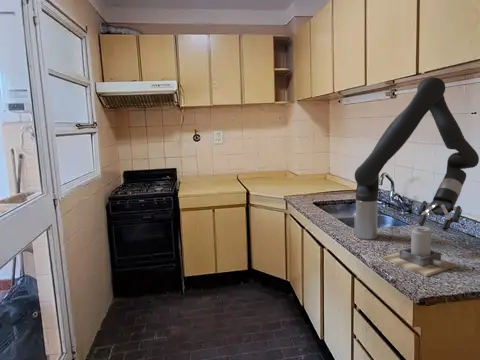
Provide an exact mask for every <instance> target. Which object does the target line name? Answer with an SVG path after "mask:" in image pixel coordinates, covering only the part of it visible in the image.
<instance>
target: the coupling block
mask: <svg viewBox="0 0 480 360" xmlns="http://www.w3.org/2000/svg"><path fill="white" fill-rule="evenodd" d="M382 260H384V261H386V262H390V263H392V264H395V265H396V266H399V267H402V268H404V269H407V270H409V271H411V272H414V273H416V274H419V275H422V276H424V277H429V276H432V275H434V274H438V273H441V272H444V271H447V270H450V269H453V268H455V267H456V264H455V263H453V262H450V261H447V260H444V259H442V253H441V252H438V251H435V250H432V249H431V255H428V256H425V257H420V256H417V255H414V254H411V247H409V248H403V247H398V248H397V252H395V253H392V254H388V255H385V256H383V259H382Z"/></svg>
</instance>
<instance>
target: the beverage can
mask: <svg viewBox="0 0 480 360" xmlns="http://www.w3.org/2000/svg"><path fill="white" fill-rule="evenodd" d="M410 237H411V239H410V240H411V241H410V244H411V245H410V246H411V247H410V248H411V254H414V255H417V256H420V257H425V256H428V255H431V250H432V231H431V228H429V227H428V226H420V225H418V226H413V227H412V230H411V236H410Z"/></svg>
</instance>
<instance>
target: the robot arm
mask: <svg viewBox="0 0 480 360" xmlns="http://www.w3.org/2000/svg"><path fill="white" fill-rule="evenodd" d="M445 92H446V84H445V82H444V80H442V79H441V78H439V77H433V76H431V77H427V78H424V79H422V80H421V81H420V82H419V83H418V86H417V90H416V92H415V95H414V96H413V97H412V99H411V101H410V102H409V104H408V105H407V106H406V108H405V109H403V110H402V111H401V112H400V114H398V115H397V117H395V118H394V119H393V121H392V122H391V123H390V124H389V126H387V128H386V129H385V131H384V132H383V134H382V136H380V138H379V139H378V142H377V143H376V145H375V147H374V148H373V150H372V152H371V153H370V154H369V156H367V158H366V159H365V160H364V161H363V162H362V163H361V164H360V165H359V166H358V167H357V168H356V170H355V173H354V180H355V182H356V183H357V184H356V186H357V187H356V191H355V214H354V216H353V218H354V221H353V222H354V223H353V224H354V225H353V226H354V231H353V232H354V236H355V237H356V238H357V239H361V240H375V239H377V238H378V221H379V220H378V213H379V212H378V208H379V207H378V206H379V205H378V203H379V202H378V201H379V186H380V173H381V171H382V169H383V168H384V166H385V165H386V164H387V163H388V162H389V160H390V159H392V158H393V157H394V155H396V153H398V152H399V150H401V149H402V148H403V146H404V145H405V144H406V142H407V141H408V140H409V138H410V137H411V136H412V134H413V133H414V132H415V130H416V129H417V127H418V126H419V124H420V123H421V122H422V119H423V118H424V117H425V115H426V114H427V113H428V112H430V113H431V116H432V118H433V120H434V122H435V125H436V127H437V130H438V133H439V134H440V136H441V139H442V142H443V143H444V146H445V148H447V149H448V150H455V151H456V152H453V153H451V154H450V155H449V156H448V158H447V161H446V163H447V165H446V173H445V175H444V177H443V179H442V181H441V182H440V184H439V186H438V188H437V189H436V191H435V194H434V196H433V199H432V201H431V202H427V201H426V200H423V201H422V203H421V204H420V206H419V208H418V210H417V212H416V213H417V214H418V215H419V220H418V224H419V226H422V227H424V225H425V222H426V221H427V218H428V217H432V216H433V215H435V216H440V217H444V216H445V218H446V219H445V220H444V222H443V224H442V226H441V227H442V231H444V232H447V231H448V230H449V229H450V227H451V224H452V223H455V224H458V223H459V222H460V218H461V215H462V213H463V209H462V207H461V206H460V205H457V206H456V204H457V201H458V198H459V197H460V194H461V192H462V188H463V186H464V184H465V181H466V180H467V179H466V178H467V173H466V172H465V171H464V169H465V170H466V169H471V168H472V169H473V168H476V167H477V165H478V164H479V162H480V161H479V160H480V157H479V154H478V153H477V150H475V149H474V148H473V146H472V145H471V144H470V143H469V141H468V140H467V139H466V138H465V137H464V133H463V132H462V130H461V128H460V126H459V124H458V121H457V120H456V119H455V117H454V115H453V114H452V112H451V111H450V109H449V106H448V104H447V102H446V99H445V95H444V94H445ZM452 212H454V213H453V217H451V215H450V213H452Z"/></svg>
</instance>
